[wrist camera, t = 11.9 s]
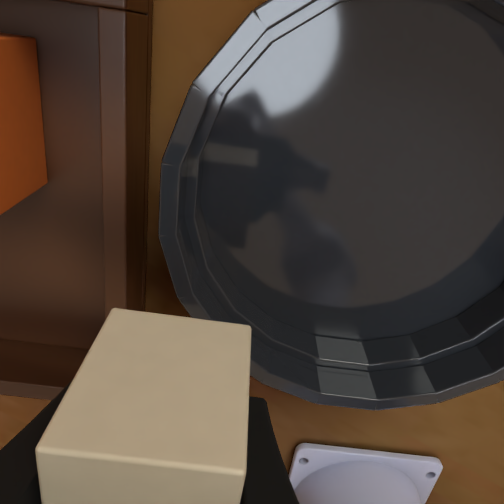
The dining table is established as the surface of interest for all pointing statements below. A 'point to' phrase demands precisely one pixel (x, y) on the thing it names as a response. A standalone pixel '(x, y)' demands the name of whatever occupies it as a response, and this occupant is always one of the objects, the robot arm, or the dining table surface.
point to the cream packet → (152, 415)
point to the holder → (77, 189)
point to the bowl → (348, 197)
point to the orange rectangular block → (20, 121)
